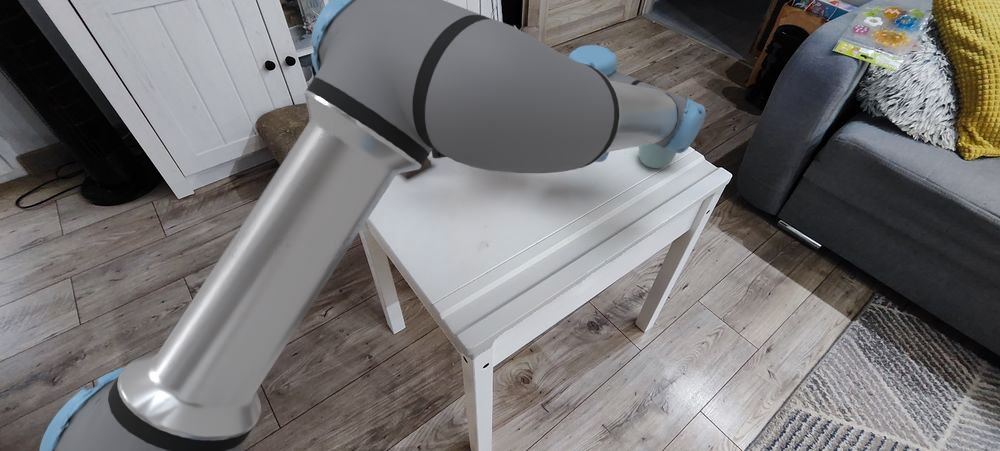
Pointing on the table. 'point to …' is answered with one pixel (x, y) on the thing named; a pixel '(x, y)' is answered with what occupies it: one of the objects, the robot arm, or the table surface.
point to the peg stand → (414, 172)
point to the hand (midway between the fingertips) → (410, 112)
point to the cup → (655, 156)
